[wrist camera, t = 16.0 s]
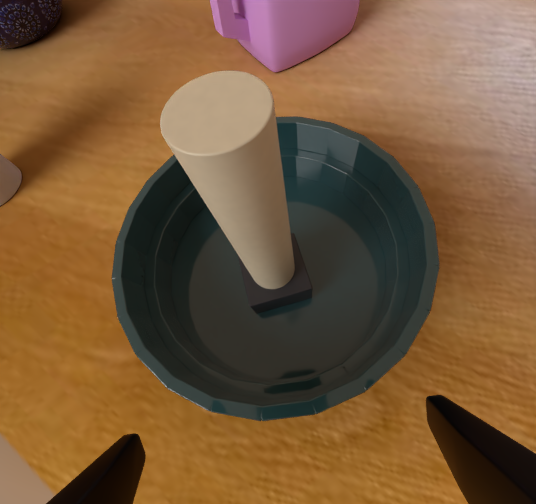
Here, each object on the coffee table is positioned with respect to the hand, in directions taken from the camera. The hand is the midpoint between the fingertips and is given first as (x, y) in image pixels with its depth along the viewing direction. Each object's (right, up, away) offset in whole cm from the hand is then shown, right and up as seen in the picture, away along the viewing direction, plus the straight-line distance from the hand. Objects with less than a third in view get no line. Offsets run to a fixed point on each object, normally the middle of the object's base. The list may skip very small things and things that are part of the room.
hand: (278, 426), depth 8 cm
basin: (0, +4, +12) cm, 13 cm away
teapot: (+3, +31, +23) cm, 38 cm away
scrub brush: (0, +3, +11) cm, 11 cm away
